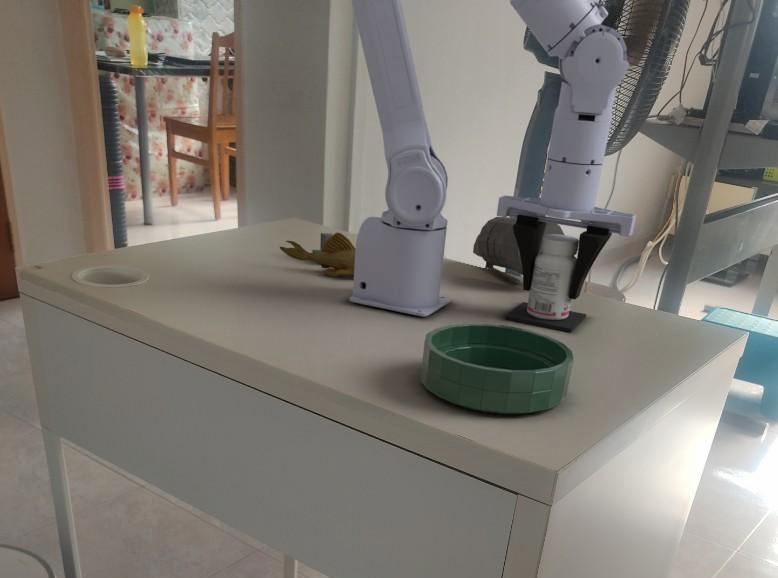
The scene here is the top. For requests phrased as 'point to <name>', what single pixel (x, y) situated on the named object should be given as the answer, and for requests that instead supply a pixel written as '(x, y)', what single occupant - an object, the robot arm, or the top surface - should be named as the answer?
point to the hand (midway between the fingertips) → (550, 292)
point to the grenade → (504, 245)
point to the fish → (328, 255)
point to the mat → (564, 324)
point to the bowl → (496, 368)
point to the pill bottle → (553, 277)
